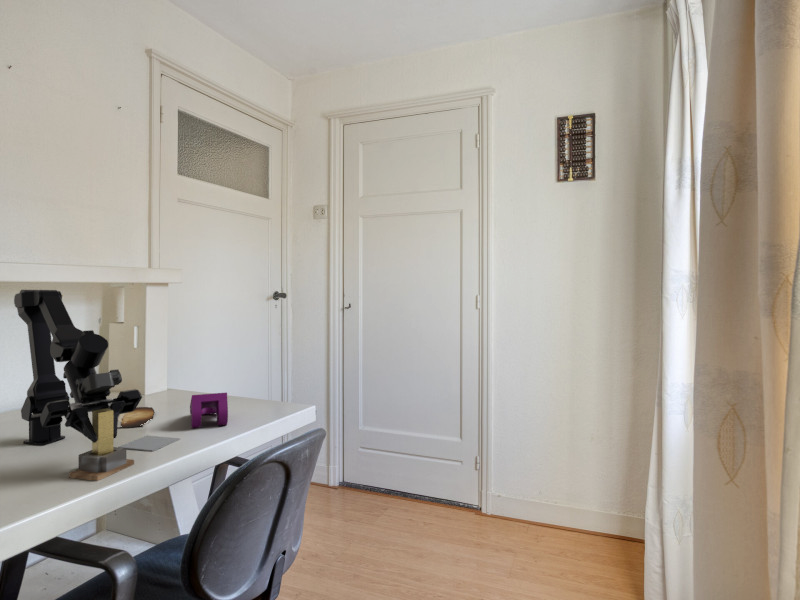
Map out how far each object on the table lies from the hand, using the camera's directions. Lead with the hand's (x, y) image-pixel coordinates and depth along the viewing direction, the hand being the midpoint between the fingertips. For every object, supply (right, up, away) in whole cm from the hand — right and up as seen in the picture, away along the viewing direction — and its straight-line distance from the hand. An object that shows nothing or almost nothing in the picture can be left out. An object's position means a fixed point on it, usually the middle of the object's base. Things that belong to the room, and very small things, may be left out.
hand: (105, 439), depth 107 cm
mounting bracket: (+5, -7, +42) cm, 43 cm away
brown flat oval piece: (-17, -6, +45) cm, 49 cm away
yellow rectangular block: (-1, -7, +1) cm, 7 cm away
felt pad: (-1, -7, +20) cm, 21 cm away
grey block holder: (-1, -7, +1) cm, 7 cm away
